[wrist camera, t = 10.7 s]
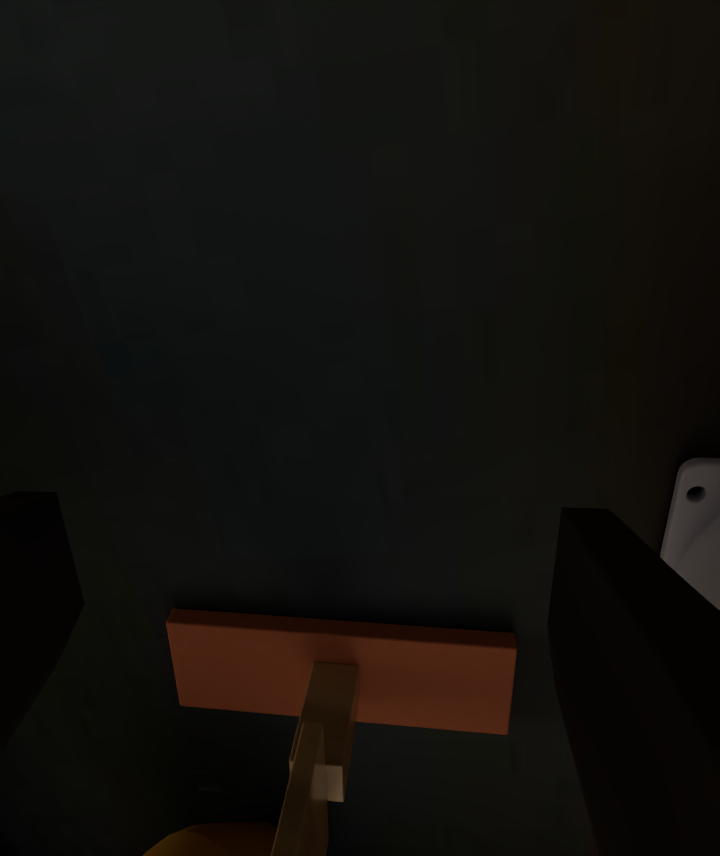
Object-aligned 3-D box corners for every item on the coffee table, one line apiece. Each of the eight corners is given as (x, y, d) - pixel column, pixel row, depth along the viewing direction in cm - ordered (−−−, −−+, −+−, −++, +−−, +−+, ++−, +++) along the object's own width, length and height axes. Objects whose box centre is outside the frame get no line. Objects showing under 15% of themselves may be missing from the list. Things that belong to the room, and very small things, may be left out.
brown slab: (360, 733, 25) (323, 989, 18) (317, 729, 25) (263, 981, 18) (358, 625, 23) (315, 867, 15) (311, 622, 23) (247, 859, 16)
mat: (506, 717, 25) (507, 736, 24) (186, 690, 26) (179, 706, 25) (515, 631, 23) (517, 649, 22) (173, 607, 24) (164, 622, 24)
